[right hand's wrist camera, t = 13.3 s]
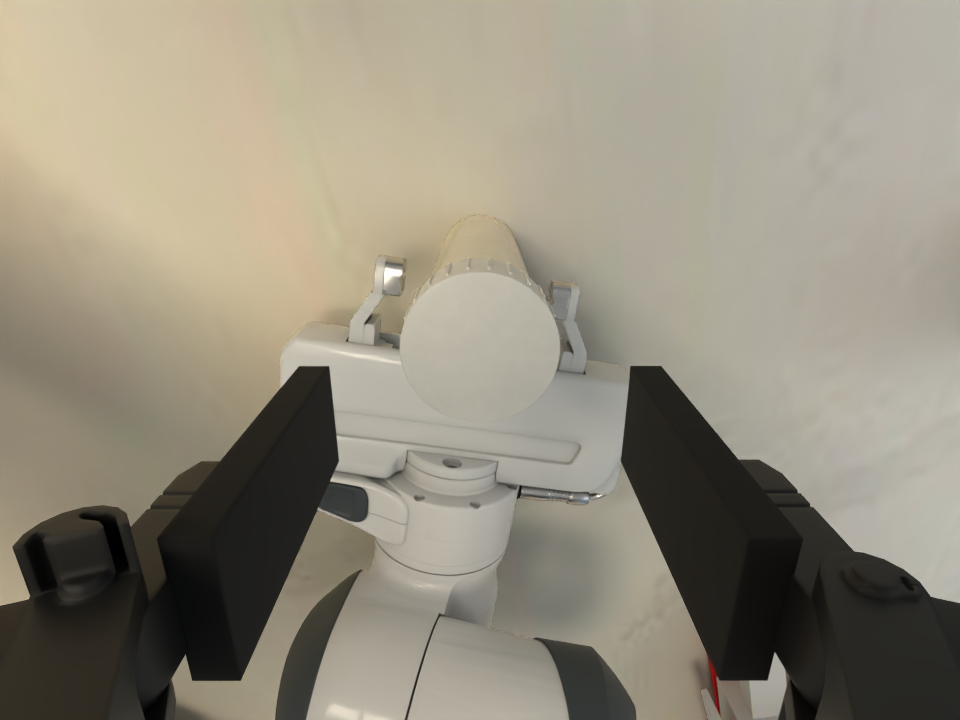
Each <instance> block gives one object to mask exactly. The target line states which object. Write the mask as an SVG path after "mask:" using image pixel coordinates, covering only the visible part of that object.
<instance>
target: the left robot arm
mask: <svg viewBox="0 0 960 720" xmlns="http://www.w3.org/2000/svg"><path fill="white" fill-rule="evenodd" d="M406 267H407V259H404V258H398V257H391V256H386V255H380V256H379V257H378V258H377V261H376V265H375V274H374V287H373V290H372V291H371V293H370V294H369V296H368V297H367V298H366V300H365V301H364V302H363V304H362V305H361V306H360V308H359V309H358V311H357V312H356V313H355V315H354V316H353V317H352V319H351V320H350V326H349V327H348V326H341V325H334V324H326V323H320V322H310V323H307V324H306V325H304V326H303V327H302V328H301V329H299V330H298V331H297V332H296V333H295V334H294V335H292V336H291V338H290V339H289V340H288V341H287V342H286V344H285V345H284V347H283V349H282V352H281V356H280V388H281V387H282V386H283V385H284V384H285V382H286V381H287V380H288V379H289V378H290V376H291V375H292V374H293V373H294V372H295V370H296V369H297V368H298V367H299V366H329V368H330V378H331V387H332V397H333V407H334V416H335V426H336V436H337V445H338V455H339V462H338V465H337V467H336V469H335V471H334V474H333V476H332V478H331V480H330V483H329V485H328V487H327V489H326V491H325V494H324V496H323V498H322V500H321V503H320V505H319V507H318V509H317V511H319V512H322V513H325V514H327V515H330V516H332V517H335V518H337V519H339V520H342V521H344V522H346V523H349V524H351V525H353V526H355V527H357V528H359V529H361V530H363V531H365V532H367V533H369V534H371V535H373V536H374V543H375V552H374V557H373V560H372V562H371V565H370V567H369V568H368V569H367V570H365V571H362V570H359V571H357V572H355V573H354V574H352V575H351V576H349V577H348V578H346V579H345V580H344V581H343V582H341V583H340V584H339V585H338V586H337V587H335V588H334V589H333V590H332V591H331V592H329V593H328V594H327V595H326V596H325V597H323V598H322V599H321V600H320V601H319V602H318V603H317V605H316V606H315V607H314V608H313V609H312V611H311V612H310V613H309V615H308V616H307V617H306V619H305V621H304V622H303V624H302V626H301V627H300V629H299V631H298V633H297V635H296V637H295V639H294V641H293V643H292V646H291V648H290V650H289V653H288V656H287V659H286V662H285V666H284V669H283V673H282V677H281V682H280V687H279V693H278V699H277V706H276V716H275V720H636V710H635V706H634V704H633V702H632V700H631V698H630V696H629V695H628V693H627V691H626V690H625V688H624V687H623V685H622V684H621V682H620V681H619V679H618V678H617V677H616V675H615V674H614V673H613V671H612V670H611V669H610V667H609V666H608V665H607V664H606V662H605V661H604V660H603V659H602V658H601V657H600V655H599V654H598V653H597V652H596V651H595V650H594V649H593V648H592V647H590V646H584V645H578V644H572V643H566V642H560V641H554V640H548V639H542V638H534V639H531V638H527V637H523V636H519V635H515V634H512V633H508V632H504V631H500V630H496V629H492V628H490V625H491V621H492V617H493V613H494V609H495V604H496V599H497V593H498V580H497V573H496V569H497V566H498V565H499V563H500V561H501V560H502V558H503V556H504V554H505V551H506V548H507V545H508V540H509V535H510V530H511V526H512V521H513V516H514V511H515V506H516V499H518V498H523V499H531V500H539V501H555V500H556V501H561V502H566V503H567V504H571V505H587V504H588V502H589V500H596V499H599V498H602V497H604V496H605V495H607V494H610V493H611V492H612V491H613V490H614V488H615V486H616V483H617V479H618V475H619V472H620V468H621V455H622V445H623V436H624V426H625V416H626V407H627V397H628V387H629V378H630V375H629V374H628V373H627V372H626V370H625V369H624V368H623V367H622V366H620V365H618V364H614V363H606V362H599V361H592V360H586V359H587V355H588V354H587V351H586V348H585V346H584V343H583V340H582V337H581V334H580V331H579V328H578V325H577V322H576V320H575V315H576V311H577V306H578V301H579V297H580V288H579V286H578V285H577V284H576V283H569V282H562V281H554V280H551V281H550V284H549V288H548V291H549V293H550V295H549V296H548V297H547V298H546V301H547V302H548V301H549V302H550V304H551V306H552V308H553V311H554V313H555V315H556V317H555V319H561V321H562V324H563V327H564V330H565V333H566V335H567V338H568V342H567V341H566V340H561V339H560V357H559V363H558V367H557V370H556V373H555V375H554V378H553V380H552V381H551V383H550V385H549V387H548V388H547V389H546V391H545V392H544V393H543V395H542V396H541V397H540V398H539V399H538V400H537V401H536V402H535V403H533V404H532V405H531V406H530V407H528V408H527V409H525V410H524V411H522V412H520V413H519V414H516V415H514V416H512V417H510V418H507V419H503V420H500V421H495V422H487V423H472V422H465V421H460V420H457V419H453V418H450V417H448V416H446V415H443V414H441V413H440V412H438V411H436V410H434V409H433V408H432V407H430V406H429V405H428V404H426V403H425V402H424V401H423V400H422V399H421V398H420V397H419V396H418V395H417V393H416V392H415V391H414V390H413V388H412V387H411V385H410V383H409V382H408V380H407V377H406V375H405V373H404V370H403V367H402V363H401V357H400V339H399V336H400V334H398V333H391V332H384V331H380V327H381V315H380V314H376V313H373V314H372V315H371V313H372V312H373V311H374V309H375V308H376V307H377V305H378V304H379V302H380V301H381V300H382V298H383V297H384V296H385V295H394V296H401V294H402V291H403V290H404V286H405V275H404V272H405V271H406ZM589 492H590V493H592V494H589Z"/></svg>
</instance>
